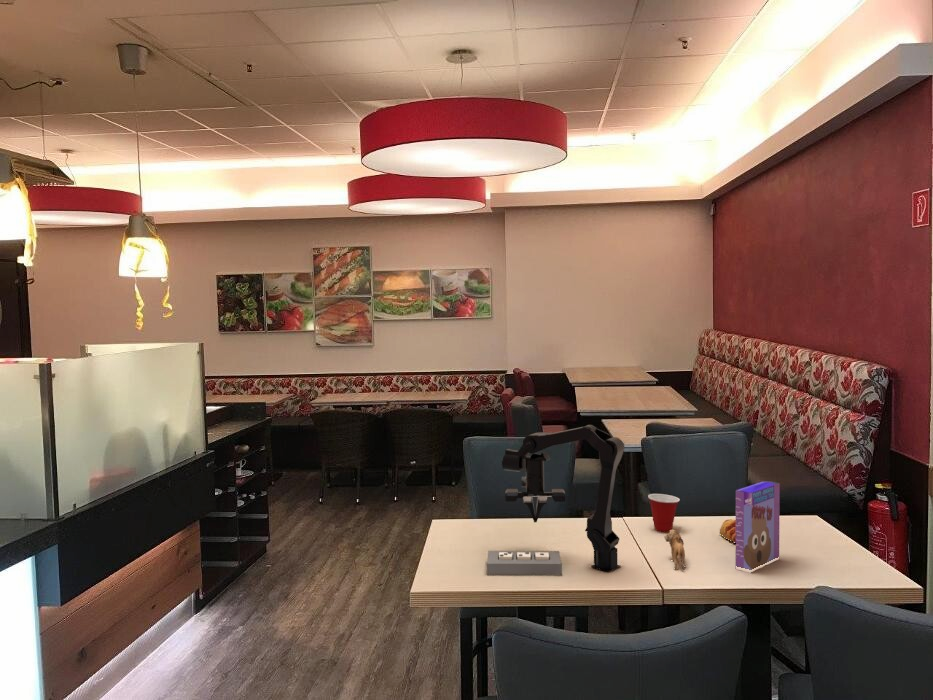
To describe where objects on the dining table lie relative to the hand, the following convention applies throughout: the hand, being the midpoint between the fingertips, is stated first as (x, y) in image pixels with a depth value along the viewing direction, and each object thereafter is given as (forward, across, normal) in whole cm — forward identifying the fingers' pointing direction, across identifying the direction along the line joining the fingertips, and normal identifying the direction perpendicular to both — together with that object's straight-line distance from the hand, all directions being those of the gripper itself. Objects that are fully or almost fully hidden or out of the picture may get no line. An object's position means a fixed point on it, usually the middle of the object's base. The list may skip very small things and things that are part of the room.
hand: (535, 522), depth 242 cm
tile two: (+9, +4, +11) cm, 15 cm away
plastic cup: (+11, -45, -29) cm, 55 cm away
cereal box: (+11, -67, +6) cm, 68 cm away
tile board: (+11, +4, +11) cm, 16 cm away
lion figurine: (+11, -43, +5) cm, 45 cm away
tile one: (+9, -2, +11) cm, 14 cm away
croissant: (+12, -68, -21) cm, 72 cm away
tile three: (+9, +9, +11) cm, 17 cm away
